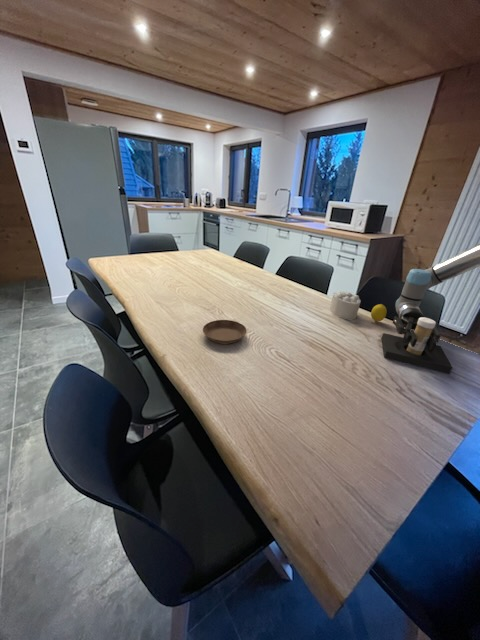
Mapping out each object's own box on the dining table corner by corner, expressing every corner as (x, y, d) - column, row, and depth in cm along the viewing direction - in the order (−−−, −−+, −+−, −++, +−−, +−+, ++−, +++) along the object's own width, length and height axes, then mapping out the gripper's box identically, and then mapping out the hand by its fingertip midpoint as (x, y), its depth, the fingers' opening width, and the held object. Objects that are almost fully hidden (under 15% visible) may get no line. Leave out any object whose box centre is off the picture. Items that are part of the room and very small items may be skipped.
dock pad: (437, 351, 91) (440, 345, 90) (449, 374, 79) (452, 367, 78) (381, 338, 97) (383, 332, 96) (384, 358, 85) (386, 351, 84)
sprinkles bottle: (401, 353, 89) (415, 317, 83) (411, 351, 90) (426, 316, 84) (412, 360, 85) (429, 323, 79) (423, 359, 86) (440, 322, 80)
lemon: (383, 321, 112) (389, 303, 108) (382, 325, 107) (388, 307, 104) (369, 317, 114) (375, 300, 111) (367, 322, 110) (373, 304, 106)
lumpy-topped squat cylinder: (349, 308, 123) (354, 290, 119) (361, 320, 111) (367, 301, 107) (327, 306, 122) (331, 289, 118) (337, 318, 110) (342, 299, 107)
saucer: (199, 345, 83) (199, 338, 82) (206, 324, 97) (206, 318, 96) (245, 349, 84) (246, 341, 82) (246, 327, 97) (246, 321, 96)
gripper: (433, 331, 98) (452, 363, 79) (382, 320, 104) (388, 348, 84) (441, 312, 95) (463, 341, 75) (388, 302, 101) (396, 327, 81)
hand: (423, 345), depth 80 cm, fingers closed on sprinkles bottle, 4 cm apart
